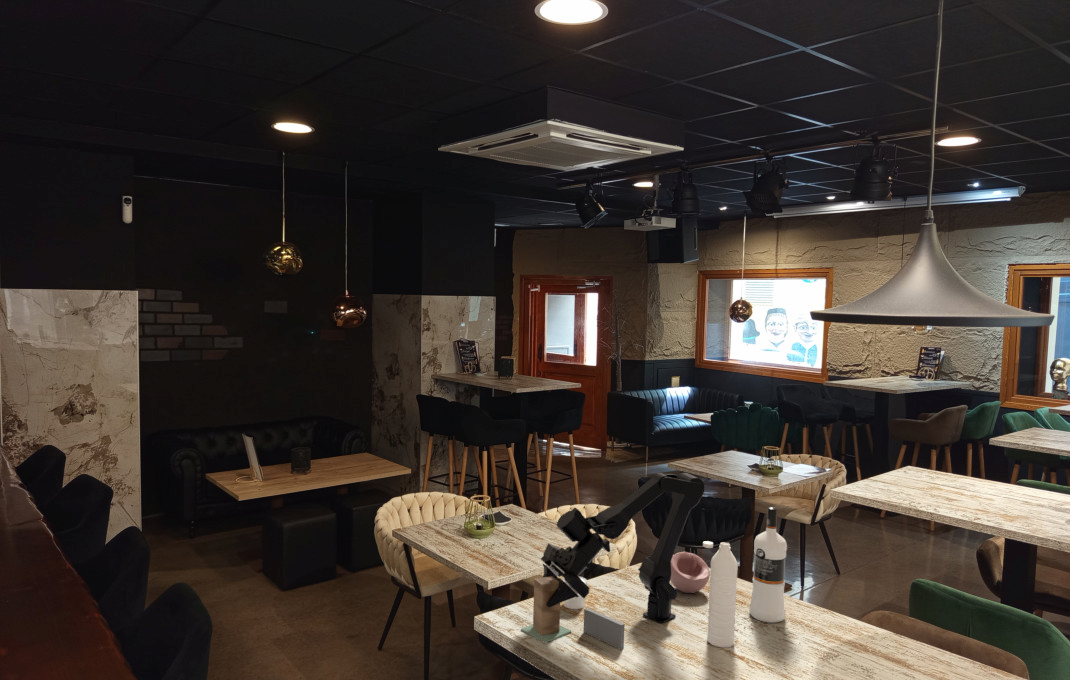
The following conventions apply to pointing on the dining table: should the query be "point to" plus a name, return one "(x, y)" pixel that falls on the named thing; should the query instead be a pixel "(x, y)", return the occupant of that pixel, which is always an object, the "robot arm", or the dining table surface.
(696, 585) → the pink rounded bowl
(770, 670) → the dining table surface
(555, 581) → the letter block
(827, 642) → the dining table surface
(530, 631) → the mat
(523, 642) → the dining table surface
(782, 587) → the vodka
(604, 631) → the gray rectangular block
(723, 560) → the water bottle
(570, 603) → the white short cylinder
